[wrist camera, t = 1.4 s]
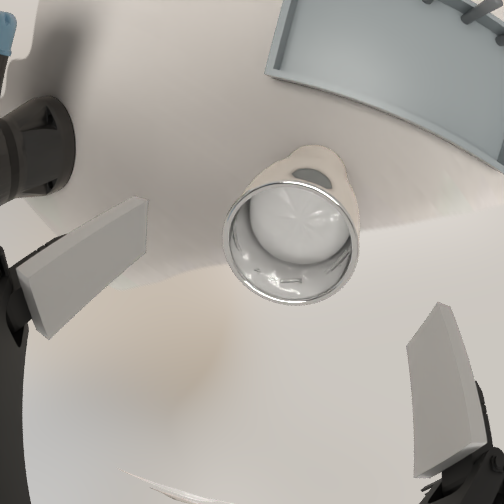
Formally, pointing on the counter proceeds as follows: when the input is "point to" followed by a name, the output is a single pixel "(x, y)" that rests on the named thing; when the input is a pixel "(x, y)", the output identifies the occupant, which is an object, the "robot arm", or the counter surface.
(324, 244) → the beer glass
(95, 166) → the counter surface
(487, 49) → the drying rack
